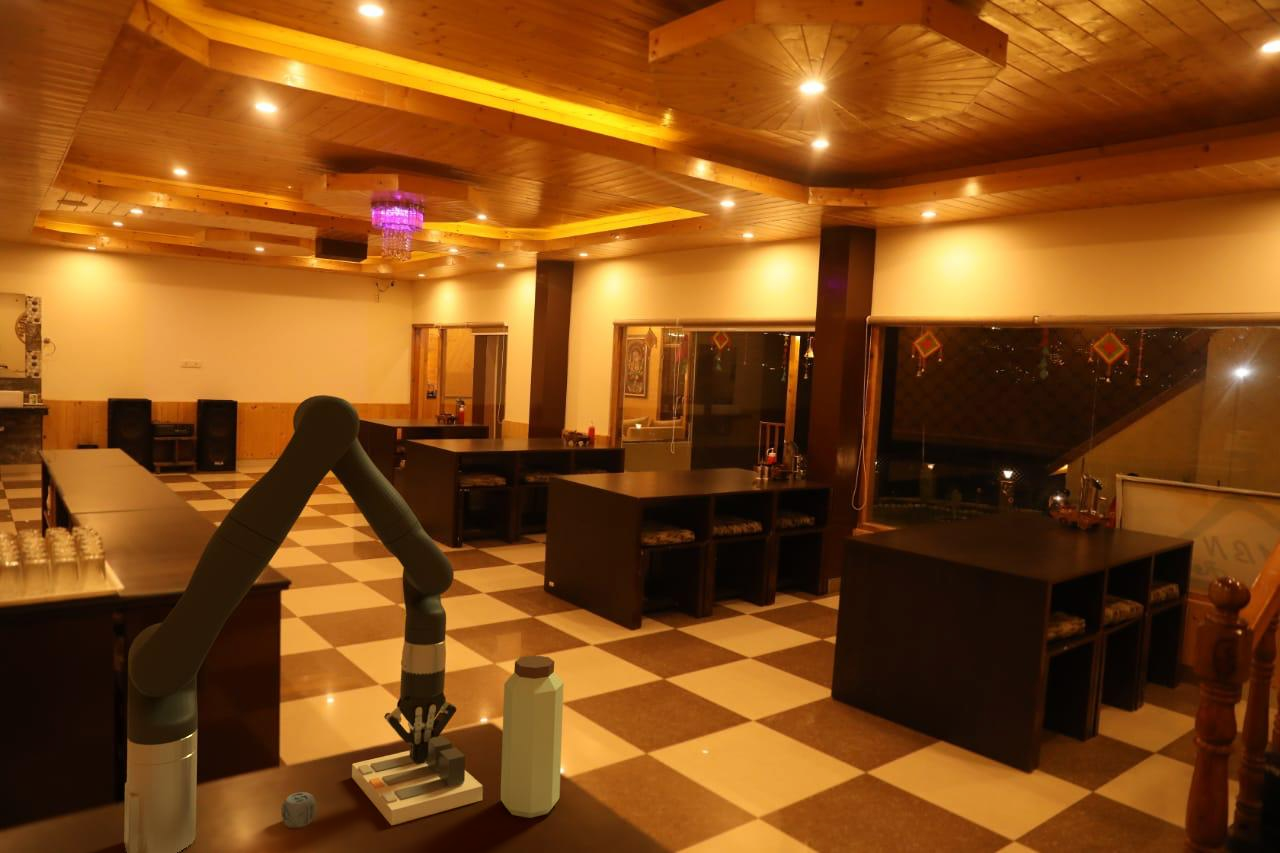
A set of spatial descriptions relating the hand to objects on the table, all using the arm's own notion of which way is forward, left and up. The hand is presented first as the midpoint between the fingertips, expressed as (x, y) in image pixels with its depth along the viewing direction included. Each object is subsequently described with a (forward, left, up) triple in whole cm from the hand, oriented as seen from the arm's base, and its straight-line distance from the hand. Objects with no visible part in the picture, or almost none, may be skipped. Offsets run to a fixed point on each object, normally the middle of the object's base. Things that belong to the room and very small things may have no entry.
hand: (418, 762), depth 149 cm
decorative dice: (-20, -1, -5) cm, 21 cm away
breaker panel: (0, 0, -5) cm, 5 cm away
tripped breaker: (+4, 0, -2) cm, 4 cm away
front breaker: (+4, -6, -2) cm, 7 cm away
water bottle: (+14, -16, -5) cm, 22 cm away
